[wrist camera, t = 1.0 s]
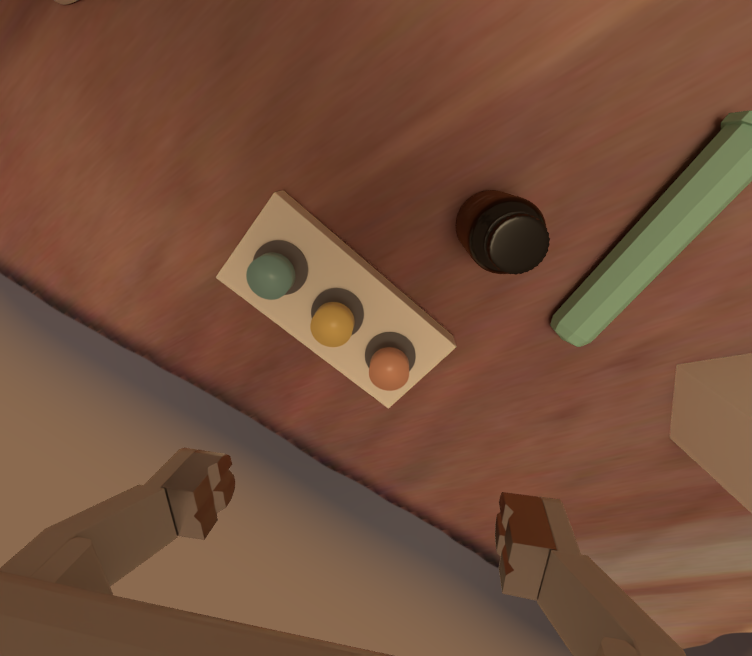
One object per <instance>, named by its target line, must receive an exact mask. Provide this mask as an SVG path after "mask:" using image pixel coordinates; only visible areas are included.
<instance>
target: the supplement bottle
mask: <svg viewBox="0 0 752 656" xmlns="http://www.w3.org/2000/svg"><path fill="white" fill-rule="evenodd" d="M456 232H457V236H458V238H459V240H460V242H461V244H462V245H463V247H464V248H465V249H466V251H467V252H468V253H469V255H470V256H471V257H472V258H473V260H474V261H475V262H476V263H477V264H478V265H479V266H480V267H482V268H483V269H485V270H486V271H489V272H492V273H496V274H518V273H519V274H522V273H524V272H528V271H529V270H532V269H533V268H534V267H536V266H538V264H539V263H540V262H542V260H543V258H544V257H545V256H546V253H547V251H548V247H549V240H550V238H549V233H548V232H547V228H546V223H545V219H544V217H543V215H542V213H541V211H540V210H539V209H538V207H537V206H536V205H534V204H533V203H532V202H530V201H528V200H526V199H524V198H521V197H518V196H514V195H511V194H508V193H505V192H501V191H496V190H487V191H482V192H479V193H477V194H475V195H473V196H472V197H470V198H469V199H468V200H467V201H466V202H465V203H464V204H463V206H462V207H461V209H460V211H459V213H458V216H457V220H456Z"/></svg>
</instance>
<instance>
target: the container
mask: <svg viewBox="0 0 752 656" xmlns="http://www.w3.org/2000/svg"><path fill="white" fill-rule="evenodd" d="M751 181H752V111H743V112H735V113H729V114H728V115H727V116H726V117H725V119H724V120H723V121H722V122H721V130H720V132H719V133H718V134H717V135H716V136H715V137H714V138H713V140H712V141H711V142H710V143H709V144H708V145H707V146H706V147H705V148H704V149H703V151H702V152H701V153H700V154H699V155H698V156H697V157H696V158H695V159H694V161H693V162H692V163H691V164H690V165H689V166H688V167H687V168H686V169H685V170H684V172H683V173H682V174H681V175H680V176H679V177H678V178H677V179H676V180H675V181H674V183H673V184H672V185H671V186H670V187H669V188H668V189H667V190H666V191H665V193H664V194H663V195H662V196H661V197H660V198H659V199H658V200H657V201H656V202H655V204H654V205H653V206H652V207H651V208H650V209H649V210H648V211H647V212H646V213H645V215H644V216H643V217H642V218H641V219H640V220H639V221H638V222H637V223H636V225H635V226H634V227H633V228H632V229H631V230H630V231H629V232H628V233H627V234H626V236H625V237H624V238H623V239H622V240H621V241H620V242H619V243H618V244H617V245H616V247H615V248H614V249H613V250H612V251H611V252H610V253H609V254H608V255H607V257H606V258H605V259H604V260H603V261H602V262H601V263H600V264H599V265H598V266H597V268H596V269H595V270H594V271H593V272H592V273H591V274H590V275H589V276H588V277H587V279H586V280H585V281H584V282H583V283H582V284H581V285H580V286H579V287H578V289H577V290H576V291H575V292H574V293H573V294H572V295H571V296H570V297H569V298H568V300H567V301H566V302H565V303H564V304H563V305H562V306H561V307H560V308H559V309H558V311H557V312H556V313H555V314H554V315H553V317H552V321H551V324H550V326H551V327H552V328H553V329H554V330H555V332H556V333H557V334H558V335H559V336H560V338H561V339H562V340H564V341H566V342H568V343H571V344H573V345H575V346H577V347H581V346H583V345H586V344H588V343H590V342H592V341H593V340H594V339H595V338H596V337H597V336H598V335H599V334H600V333H601V332H602V331H603V330H604V329H605V328H606V327H607V326H608V325H609V324H610V323H611V322H612V321H613V320H614V319H615V318H616V317H617V316H618V315H619V314H620V313H621V312H622V311H623V310H624V309H625V308H626V307H627V306H628V305H629V304H630V303H631V302H632V301H633V300H634V299H635V298H636V297H637V296H638V295H639V294H640V293H641V292H642V291H643V290H644V289H645V288H646V287H647V286H648V285H649V284H650V283H651V282H652V281H653V280H654V279H655V278H656V276H657V275H658V274H659V273H660V272H661V271H662V270H663V269H664V268H665V267H666V266H667V265H668V264H669V263H670V262H671V261H672V260H673V259H674V258H675V257H676V256H677V255H678V254H679V253H680V252H681V251H682V250H683V249H684V248H685V247H686V246H687V245H688V244H689V243H690V242H691V241H692V240H693V239H694V238H695V237H696V236H697V235H698V234H699V233H700V232H701V231H702V230H703V229H704V228H705V227H706V226H707V225H708V224H709V223H710V222H711V221H712V220H713V219H714V218H715V217H716V216H717V215H718V214H719V213H720V212H721V211H722V210H723V209H724V208H725V207H726V206H727V205H728V204H729V203H730V202H731V201H732V200H733V199H734V198H735V197H736V196H737V195H738V194H739V193H740V192H741V191H742V190H743V189H744V188H745V187H746V186H747V185H748V184H749V183H750V182H751Z"/></svg>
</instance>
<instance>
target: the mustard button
mask: <svg viewBox="0 0 752 656" xmlns="http://www.w3.org/2000/svg"><path fill="white" fill-rule="evenodd" d="M354 323H355V320H354V316H353V314H352V312H351V310H350V309H349V308H348V307H346V306H345V305H343V304H341V303H338V302H328V303H325V304H323V305H322V306H320V307H319V308H318V310H317V311H316V313H315V315H314V316H313V318H312V320H311V324H310V329H311V333H312V335H313V337H314V338H315V339H316V341H318V342H319V343H320V344H322V345H324V346H327V347H339V346H342V345H344V344H345V343H346V342H347V341H348V340H349V339H350V337H351V335H352V331H353V328H354Z"/></svg>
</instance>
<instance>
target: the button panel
mask: <svg viewBox="0 0 752 656" xmlns="http://www.w3.org/2000/svg"><path fill="white" fill-rule="evenodd" d="M270 252H274V253H279V254H281V255H283V256H285V257H286V258H287V259H288V260H289V261H290V262H291V263H292V265H293V267H294V270H295V281H294V284H293V286H292V287H291V288H290V289H289V290H288V291H287V293H286V294H285V295H284V296H282V297H281V298H278V299H275V300H268V299H264V298H261V297H259V296H258V295H256V294H255V293H254V292H253V291H252V290H251V288H250V287H249V285H248V283H247V278H246V273H247V269H248V266H249V265H250V264H251V262H252V261H254V260H255V259H257V258H258V257H260V256H261V255H263V254H265V253H270ZM216 278H217V279H218V280H220V281H221V282H222V283H223V284H225V285H226V286H227V287H229V288H230V289H231V290H233V291H234V292H235V293H237V294H238V295H239V296H241V297H242V298H243V299H245V300H246V301H247V302H249V303H250V304H251V305H253V306H254V307H255V308H256V309H258V310H259V311H260V312H262V313H263V314H264V315H266V316H267V317H268V318H270V319H271V320H272V321H274V322H275V323H276V324H278V325H279V326H280V327H282V328H283V329H284V330H286V331H287V332H288V333H290V334H291V335H292V336H293V337H295V338H296V339H297V340H299V341H300V342H301V343H303V344H304V345H305V346H307V347H308V348H309V349H311V350H312V351H313V352H315V353H316V354H317V355H319V356H320V357H321V358H323V359H324V360H325V361H326V362H328V363H329V364H330V365H332V366H333V367H334V368H336V369H337V370H338V371H340V372H341V373H342V374H344V375H345V376H346V377H348V378H349V379H350V380H352V381H353V382H354V383H356V384H357V385H358V386H359V387H361V388H362V389H363V390H365V391H366V392H367V393H369V394H370V395H371V396H373V397H374V398H375V399H377V400H378V401H379V402H381V403H382V404H383V405H385V406H386V407H387V408H389V407H391V406H392V405H393V404H394V403H395V402H396V401H397V400H398V399H399V398H401V397H402V396H403V395H404V394H405V393H406V392H407V391H408V390H409V389H410V388H412V387H413V386H414V385H415V384H416V383H417V382H418V381H419V380H420V379H421V378H423V377H424V376H425V375H426V374H427V373H428V372H429V371H430V370H431V369H433V368H434V367H435V366H436V365H437V364H438V363H439V362H440V361H441V360H442V359H444V358H445V357H446V356H447V355H448V354H449V353H450V352H451V351H452V350H453V349H455V348H456V344H455V340H454V337H453V335H452V334H450V333H449V332H448V331H447V330H446V329H445V328H443V327H442V326H441V325H440V324H439V323H438V322H436V321H435V320H434V319H433V318H432V317H431V316H429V315H428V314H427V313H426V312H425V311H424V310H422V309H421V308H420V307H419V306H418V305H417V304H415V303H414V302H413V301H412V300H411V299H410V298H408V297H407V296H406V295H405V294H404V293H403V292H401V291H400V290H399V289H398V288H397V287H396V286H394V285H393V284H392V283H391V282H390V281H389V280H387V279H386V278H385V277H384V276H383V275H382V274H380V273H379V272H378V271H377V270H376V269H375V268H373V267H372V266H371V265H370V264H369V263H368V262H366V261H365V260H364V259H363V258H362V257H361V256H359V255H358V254H357V253H356V252H355V251H354V250H352V249H351V248H350V247H349V246H348V245H347V244H345V243H344V242H343V241H342V240H341V239H340V238H338V237H337V236H336V235H335V234H334V233H333V232H331V231H330V230H329V229H328V228H327V227H326V226H325V225H323V224H322V223H321V222H320V221H319V220H318V219H316V218H315V217H314V216H313V215H312V214H311V213H309V212H308V211H307V210H306V209H305V208H304V207H302V206H301V205H300V204H299V203H298V202H297V201H295V200H294V199H293V198H292V197H291V196H290V195H288V194H287V193H286V192H285V191H284V190H281V191H277V192H274V194H273V195H272V196H271V198H270V199H269V201H268V202H267V204H266V205H265V207H264V208H263V210H262V211H261V212H260V214H259V215H258V217H257V218H256V220H255V221H254V223H253V224H252V225H251V227H250V228H249V230H248V231H247V233H246V234H245V236H244V237H243V239H242V240H241V241H240V243H239V244H238V246H237V247H236V249H235V250H234V252H233V253H232V254H231V256H230V257H229V259H228V260H227V262H226V263H225V265H224V266H223V268H222V269H221V270H220V272H219V273H218V275H217V276H216ZM328 302H338V303H341V304H343V305H345V306H346V307H348V308H349V309H350V310H351V312H352V314H353V316H354V320H355V323H354V328H353V331H352V335H351V337H350V339H349V340H348V341H347V342H346V343H345V344H344V345H342V346H339V347H327V346H324V345H322V344H320V343H319V342H318V341H316V339H315V338H314V337H313V335H312V333H311V329H310V324H311V320H312V318H313V316H314V315H315V313H316V311H317V310H318V308H319V307H320V306H322V305H323V304H325V303H328ZM386 347H392V348H396V349H399V350H401V351H402V352H403V353H404V354H405V355H406V356H407V358H408V361H409V378H408V381H407V382H406V384H405V385H404V386H403V387H401V388H399V389H397V390H393V391H386V390H382V389H379V388H378V387H376V386H375V385H374V384H373V383H372V382H371V380H370V377H369V367H370V361H371V358H372V356H373V355H374V353H375V352H377V351H378V350H380V349H382V348H386Z"/></svg>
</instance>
